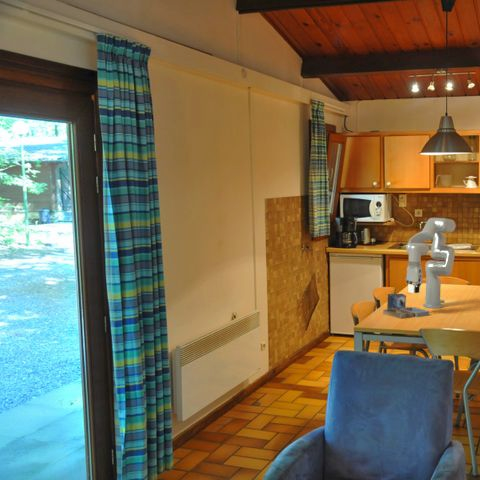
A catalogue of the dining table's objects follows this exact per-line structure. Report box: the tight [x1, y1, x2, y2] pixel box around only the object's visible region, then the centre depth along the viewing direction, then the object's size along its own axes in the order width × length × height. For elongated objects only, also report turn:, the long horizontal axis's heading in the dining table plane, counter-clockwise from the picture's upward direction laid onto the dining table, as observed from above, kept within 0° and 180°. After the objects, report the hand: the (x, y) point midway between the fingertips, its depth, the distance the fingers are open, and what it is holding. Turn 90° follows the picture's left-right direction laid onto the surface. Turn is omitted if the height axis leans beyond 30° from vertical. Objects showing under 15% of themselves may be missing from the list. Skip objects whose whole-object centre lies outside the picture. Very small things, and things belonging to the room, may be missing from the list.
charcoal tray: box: [401, 306, 430, 318], centre depth 453 cm, size 11×15×3 cm
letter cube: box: [407, 283, 421, 294], centre depth 452 cm, size 5×5×5 cm
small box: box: [386, 293, 407, 310], centre depth 466 cm, size 11×6×10 cm, turn 101°
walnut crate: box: [382, 308, 414, 320], centre depth 449 cm, size 11×16×3 cm
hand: (413, 291), depth 452 cm, fingers closed on letter cube, 4 cm apart
